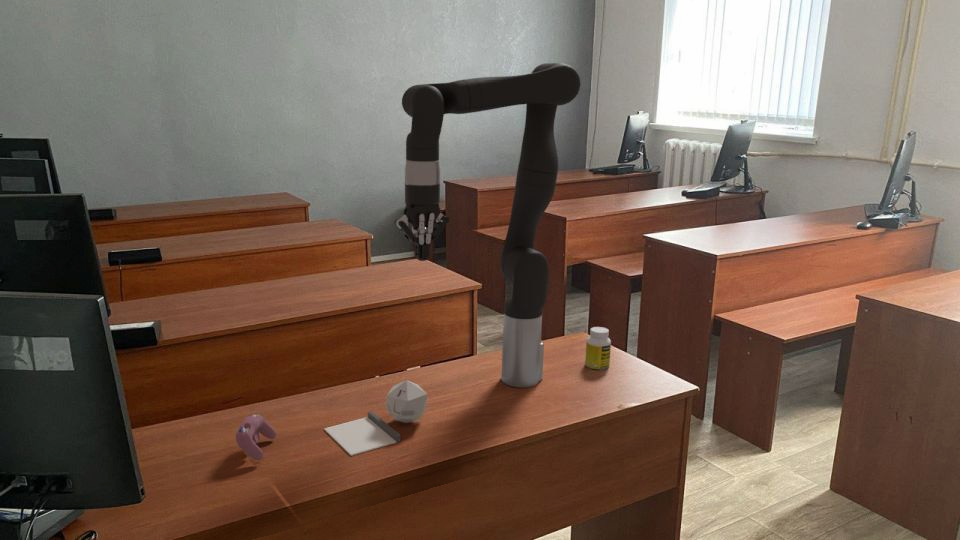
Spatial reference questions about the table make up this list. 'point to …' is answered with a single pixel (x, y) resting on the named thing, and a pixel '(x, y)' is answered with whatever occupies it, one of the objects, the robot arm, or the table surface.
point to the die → (406, 401)
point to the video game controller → (253, 435)
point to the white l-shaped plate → (363, 434)
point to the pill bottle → (598, 349)
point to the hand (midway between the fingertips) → (422, 259)
